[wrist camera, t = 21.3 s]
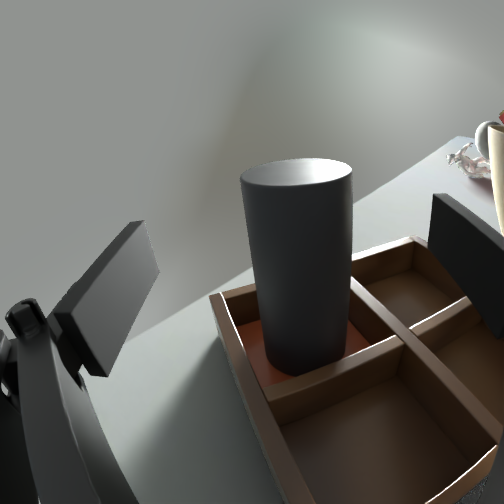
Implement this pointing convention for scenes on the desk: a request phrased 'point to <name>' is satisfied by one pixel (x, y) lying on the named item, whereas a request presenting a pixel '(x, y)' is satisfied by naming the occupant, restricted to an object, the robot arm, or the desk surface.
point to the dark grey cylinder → (301, 258)
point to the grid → (377, 389)
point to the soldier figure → (468, 163)
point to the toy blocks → (502, 116)
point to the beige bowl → (497, 168)
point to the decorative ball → (483, 138)
